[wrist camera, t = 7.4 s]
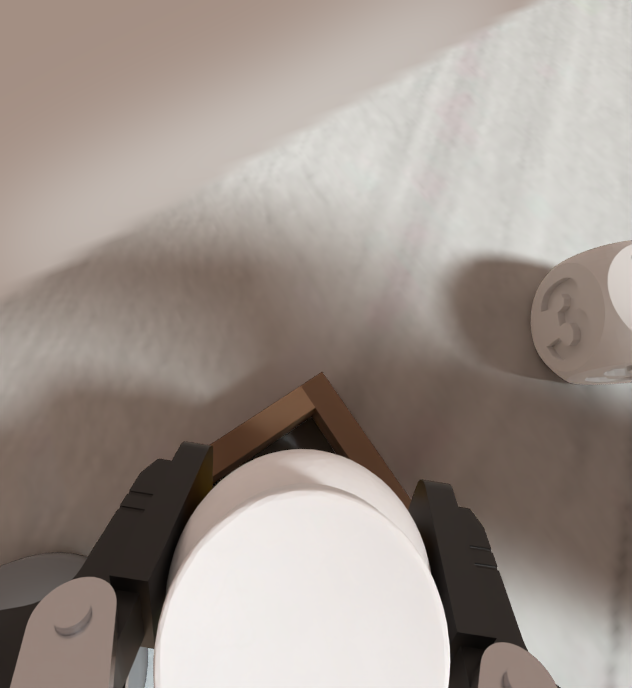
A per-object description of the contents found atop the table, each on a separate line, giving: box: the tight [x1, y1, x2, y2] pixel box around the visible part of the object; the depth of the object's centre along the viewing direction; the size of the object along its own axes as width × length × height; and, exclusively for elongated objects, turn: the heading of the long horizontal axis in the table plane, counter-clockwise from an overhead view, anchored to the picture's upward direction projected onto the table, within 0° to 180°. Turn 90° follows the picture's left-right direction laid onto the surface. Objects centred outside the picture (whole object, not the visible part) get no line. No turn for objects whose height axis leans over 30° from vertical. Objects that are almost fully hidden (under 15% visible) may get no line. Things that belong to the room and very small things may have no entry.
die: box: [531, 240, 632, 385], centre depth 18 cm, size 5×5×5 cm
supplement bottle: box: [153, 449, 450, 688], centre depth 10 cm, size 5×5×10 cm
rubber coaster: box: [0, 553, 148, 688], centre depth 14 cm, size 8×8×1 cm
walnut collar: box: [210, 372, 411, 510], centre depth 15 cm, size 8×8×3 cm
